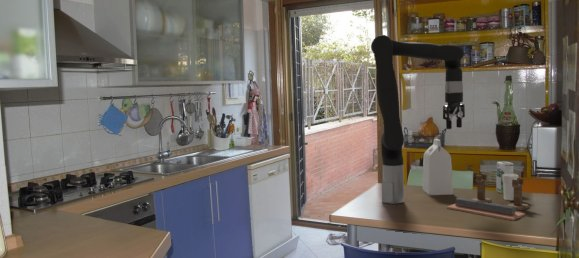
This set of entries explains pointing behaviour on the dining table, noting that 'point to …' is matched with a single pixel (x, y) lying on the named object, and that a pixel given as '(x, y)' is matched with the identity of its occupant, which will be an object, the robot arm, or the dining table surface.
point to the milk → (437, 170)
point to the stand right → (518, 194)
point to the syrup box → (503, 169)
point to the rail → (485, 206)
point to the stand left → (481, 188)
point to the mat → (487, 213)
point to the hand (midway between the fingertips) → (454, 128)
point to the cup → (508, 186)
